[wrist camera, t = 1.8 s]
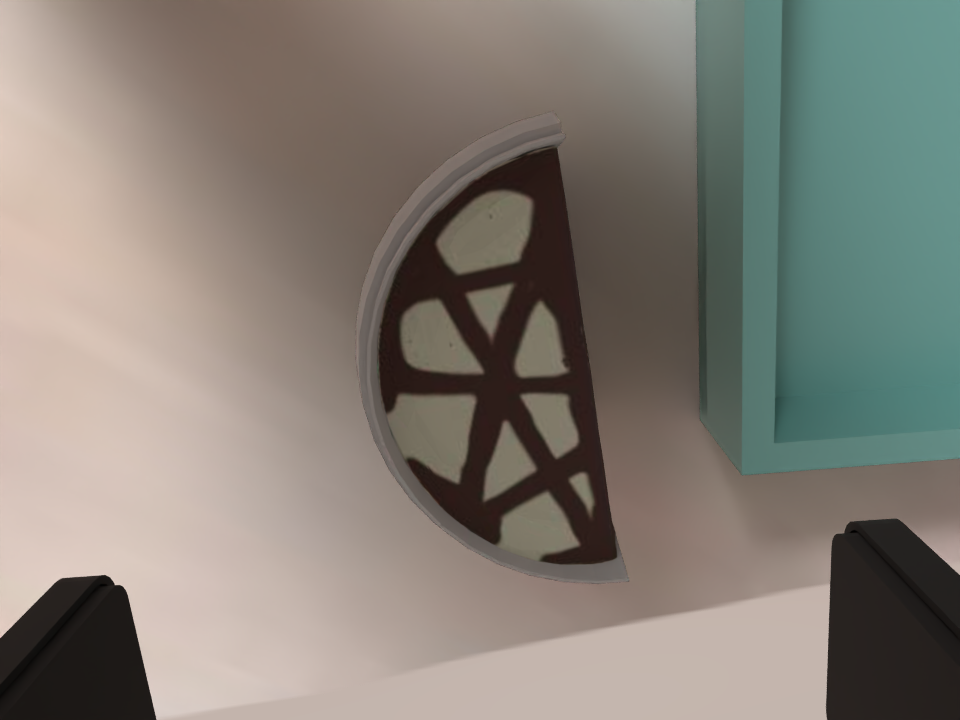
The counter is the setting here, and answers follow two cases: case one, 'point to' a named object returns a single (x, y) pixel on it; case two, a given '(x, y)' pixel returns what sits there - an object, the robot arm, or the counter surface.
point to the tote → (829, 231)
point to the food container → (490, 361)
